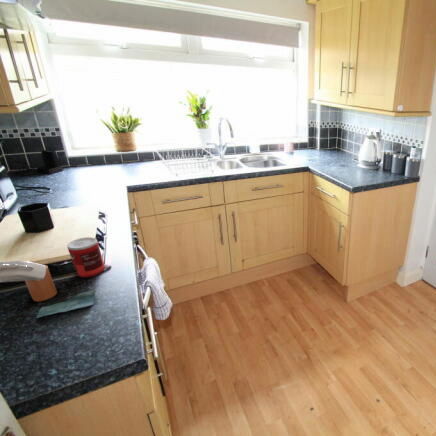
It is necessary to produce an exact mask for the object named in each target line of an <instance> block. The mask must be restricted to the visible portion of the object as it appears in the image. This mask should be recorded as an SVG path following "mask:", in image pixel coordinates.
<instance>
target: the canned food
mask: <svg viewBox="0 0 436 436" xmlns="http://www.w3.org/2000/svg"><path fill="white" fill-rule="evenodd" d="M66 247H67V250H68V254H69V256H70V259H71V262H72V264H73V268H74V271H75V273H76V275H77V276H78V277H80V278H91V277H95V276H97V275H100V274H102V273H103V272H104V270H105V267H106V266H105V263H104V258H103V255H102V251H101V249H100V245H99V243H98V240H97V238H95V237H91V236H90V237H89V236H88V237H81V238H76V239H74V240H71V241H70V242H69V243H67V245H66Z"/></svg>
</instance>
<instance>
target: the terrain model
mask: <svg viewBox="0 0 436 436" xmlns="http://www.w3.org/2000/svg"><path fill="white" fill-rule="evenodd" d="M96 291H97V290H96V289H94V290H90V291H84V292H80V293H79V294H77V295H74V296H73V297H71V298H70V299H68V300H66V301H62V302H57V303H54V304H51V305H45V306H41V307H40V308H39V310H38V312H37V315H36V317H35V319H39V318H41V317H44V316H51V315H54V314H57V313H65V312H68V311H69V312H70V311H71V310H76V309H82V308H86V307H89V306H92V305H94V302H95V296H96Z"/></svg>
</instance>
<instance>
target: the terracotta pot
mask: <svg viewBox="0 0 436 436" xmlns="http://www.w3.org/2000/svg"><path fill="white" fill-rule="evenodd" d="M44 265H45V266H46V273H45V276H44V278H43V279H42V280H39V281H24V284H25V286H26V288H27V290H28V293H29V295H30V297H31V299H32V301H34V302H44V301H47V300H50V299H51V298H54V297H55V296H56V295H57V293H58V290H57V287H56V285H55V282H54V280H53V277H52V275H51V272H50V269H49V267H48V265H47V264H44Z"/></svg>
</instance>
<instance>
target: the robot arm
mask: <svg viewBox="0 0 436 436" xmlns="http://www.w3.org/2000/svg"><path fill="white" fill-rule="evenodd" d="M4 207H5V204H4V203H3V201H2V199H1V198H0V218H2V215H3V213H4V210H5V209H4ZM45 265H46V264H41V263H37V262H34V261H33V262H32V261H27V260H3V261H1V260H0V283H14V282H25V281H39V280H42V279H43V278H44V276H45V273H46V266H47V265H46V266H45Z"/></svg>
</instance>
